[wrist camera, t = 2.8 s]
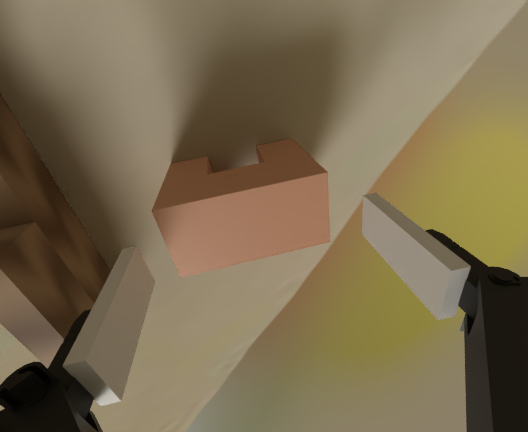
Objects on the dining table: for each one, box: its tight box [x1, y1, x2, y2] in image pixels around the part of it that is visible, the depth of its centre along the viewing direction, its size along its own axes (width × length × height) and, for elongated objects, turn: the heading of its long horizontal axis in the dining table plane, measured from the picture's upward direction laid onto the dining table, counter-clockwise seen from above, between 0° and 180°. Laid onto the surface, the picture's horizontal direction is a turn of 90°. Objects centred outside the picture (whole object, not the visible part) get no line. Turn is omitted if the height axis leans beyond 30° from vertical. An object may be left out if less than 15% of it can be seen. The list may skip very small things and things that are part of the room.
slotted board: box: [0, 94, 110, 368], centre depth 18 cm, size 22×2×8 cm, turn 9°
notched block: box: [152, 139, 330, 277], centre depth 19 cm, size 10×5×8 cm, turn 99°
